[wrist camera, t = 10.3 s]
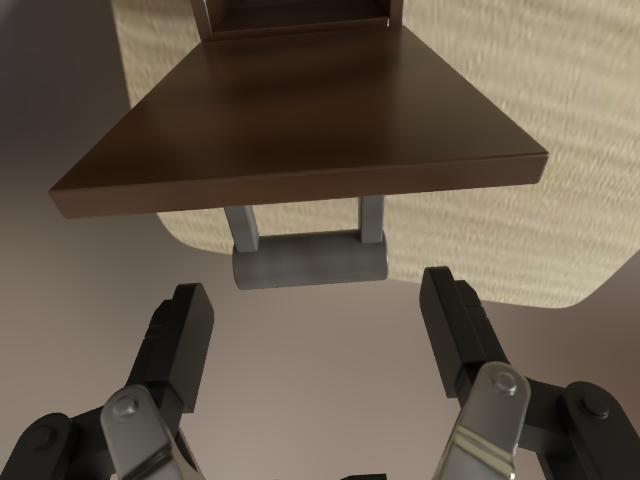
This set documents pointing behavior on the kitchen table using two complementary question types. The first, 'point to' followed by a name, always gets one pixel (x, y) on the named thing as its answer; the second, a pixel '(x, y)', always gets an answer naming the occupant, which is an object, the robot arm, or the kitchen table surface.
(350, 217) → the kitchen table surface
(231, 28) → the box
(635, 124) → the kitchen table surface
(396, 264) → the kitchen table surface
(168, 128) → the lid
